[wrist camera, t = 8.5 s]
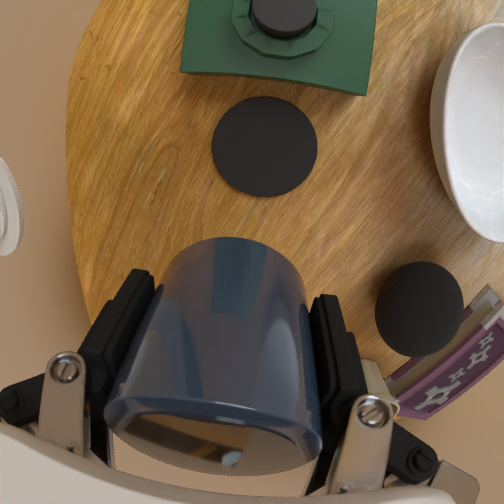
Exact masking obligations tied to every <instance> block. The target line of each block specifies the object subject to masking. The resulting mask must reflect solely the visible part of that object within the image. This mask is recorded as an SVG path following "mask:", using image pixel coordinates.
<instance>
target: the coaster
mask: <svg viewBox="0 0 504 504" xmlns="http://www.w3.org/2000/svg"><path fill="white" fill-rule="evenodd" d="M212 151H213V157H214V161H215V164H216V166H217V168H218V170H219V172H220V173H221V175H222V176H223V177H224V179H225V180H226V181H227V182H228V183H229V184H231V185H232V186H233V187H235V188H236V189H238V190H240V191H242V192H244V193H246V194H250V195H253V196H259V197H272V196H278V195H281V194H284V193H287V192H289V191H291V190H293V189H294V188H296V187H297V186H298V185H300V184H301V183H302V182H303V181H304V180H305V179H306V178H307V176H308V175H309V174H310V172H311V170H312V168H313V166H314V164H315V160H316V156H317V138H316V134H315V131H314V128H313V126H312V124H311V122H310V121H309V119H308V118H307V117H306V116H305V114H304V113H303V112H302V111H301V110H299V109H298V108H297V107H296V106H294V105H293V104H291V103H289V102H287V101H285V100H282V99H279V98H274V97H255V98H250V99H247V100H244V101H242V102H240V103H238V104H236V105H235V106H233V107H232V108H231V109H229V110H228V111H227V112H226V113H225V114H224V116H223V117H222V118H221V120H220V121H219V123H218V125H217V127H216V129H215V132H214V136H213V142H212Z"/></svg>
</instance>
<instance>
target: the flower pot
mask: <svg viewBox="0 0 504 504" xmlns="http://www.w3.org/2000/svg"><path fill="white" fill-rule="evenodd" d="M361 363H362V367H363V371H364V375H365V380H366V384H367V388H368V393H369V394H377V395H379V396H381V397H383V398H385V399H386V400H387V401H388V402H389V403H390V405H391V406H392V409H393V411H394V417H395V416H396V415H397V414H398V412H399V410H400V406H399V404H398V403H397V402H395V400H394V398H393V397H392V396H391V395H390V393H389V391H388V389H387V386H386V384H385V382H384V380H383V378H382V375H381V373H380V371H379V369H378V366H377V364H376V363H375V362H374V361H369V360H367V359H361Z"/></svg>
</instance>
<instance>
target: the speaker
mask: <svg viewBox="0 0 504 504" xmlns="http://www.w3.org/2000/svg"><path fill="white" fill-rule="evenodd" d="M463 311H464V303H463V296H462V292H461V289H460V287H459V285H458V283H457V281H456V280H455V278H454V277H453V276H452V275H451V273H449V272H448V271H447V270H446V269H445V268H443V267H441V266H439V265H437V264H434V263H431V262H423V261H421V262H413V263H409V264H406V265H404V266H402V267H400V268H398V269H397V270H396V271H394V272H393V273H392V274H391V275H390V276H389V277H388V278H387V279H386V280H385V282H384V283H383V285H382V287H381V289H380V291H379V293H378V296H377V299H376V304H375V320H376V325H377V328H378V331H379V333H380V335H381V337H382V339H383V340H384V341H385V343H386V344H387V345H388V346H389V347H390V348H391V349H393V350H394V351H396V352H397V353H399V354H402V355H404V356H408V357H425V356H429V355H432V354H434V353H436V352H438V351H440V350H441V349H443V348H444V347H445V346H446V345H448V344H449V343H450V341H451V340H452V339H453V338H454V336H455V335H456V333H457V331H458V329H459V327H460V325H461V321H462V318H463Z"/></svg>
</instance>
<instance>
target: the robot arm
mask: <svg viewBox="0 0 504 504" xmlns="http://www.w3.org/2000/svg"><path fill="white" fill-rule="evenodd" d="M6 229H7V211H6V205H5V202H4V198H3V195H2V192H1V190H0V240H1V239H2V238H3V237H4V235H5V233H6ZM154 292H155V286H154V277H153V276H152V275H150V274H149V271H147V270H140V269H132V271H131V272H130V274H129V275H128V277H127V278H126V280H125V281H124V283H123V285H122V286H121V288H120V289H119V291H118V292H117V294H116V296H115V297H114V299H113V300H108V301H107V303H106V304H105V306H104V307H103V309H102V310H101V312H100V314H99V315H98V317H97V319H96V320H95V322H94V324H93V325H92V327H91V329H90V330H89V332H88V334H87V336H86V337H85V339H84V341H83V343H82V344H81V346H80V348H79V350H78V351H77V353H75V352H72V351H64V352H60V353H58V354H56V355H55V356H53V357H52V358H51V359H50V361H49V362H48V364H47V367H46V371H45V373H43V374H40V375H38V376H35V377H32V378H30V379H27V380H24V381H21V382H19V383H16V384H13V385H10V386H8V387H6V388H4V389H3V390H2V391H1V392H0V504H475V502H476V499H477V497H478V494H479V490H480V489H479V483H478V481H477V479H476V478H475V477H473V476H472V475H469V474H468V473H466V472H464V471H462V470H461V469H459V468H457V467H455V466H453V465H452V464H450V463H448V462H446V461H445V460H441V461H439V460H438V458H437V454H436V453H435V451H434V450H433V449H432V448H431V447H430V446H429V445H427V444H426V443H424V442H423V441H421V440H420V439H418V438H417V437H415V436H414V435H413V434H411V433H410V432H408V431H406V430H405V429H404V428H403V427H401V426H400V425H398V424H397V423H395V422H394V411H393V409H392V406H391V405H390V403H389V402H388V401H387V400H386V399H385V398H383V397H381V396H379V395H377V394H369V393H368V388H367V384H366V380H365V375H364V371H363V367H362V363H361V359H360V355H359V351H358V347H357V344H356V340H355V337H354V334H353V333H352V332H346V328H345V324H344V320H343V316H342V312H341V309H340V305H339V301H338V298H337V296H336V295H328V294H321V295H320V297H319V298H318V297H315V298H314V301H313V304H312V307H311V310H310V313H309V317H310V324H311V332H312V339H313V347H314V354H315V363H316V371H317V380H318V389H319V398H320V408H321V418H322V429H323V441H324V446H323V449H322V451H321V453H320V454H319V455H318V456H317V457H316V458H315V459H314V462H313V465H312V468H311V470H310V473H309V476H308V478H307V481H306V483H305V486H304V489H303V491H302V493H301V496H300V497H263V496H246V495H234V494H224V493H216V492H208V491H201V490H196V489H190V488H185V487H179V486H175V485H170V484H165V483H161V482H157V481H153V480H149V479H145V478H142V477H138V476H135V475H131V474H128V473H125V472H121V471H119V470H116V468H115V458H114V446H113V432H112V431H111V429H110V428H109V427H108V426H107V424H106V422H105V421H104V417H103V408H104V405H105V403H106V400H107V398H108V395H109V393H110V390H111V388H112V385H113V383H114V380H115V378H116V376H117V373H118V371H119V368H120V366H121V364H122V361H123V359H124V357H125V355H126V352H127V350H128V348H129V345H130V343H131V341H132V339H133V337H134V334H135V332H136V330H137V328H138V326H139V324H140V321H141V319H142V317H143V315H144V313H145V311H146V309H147V307H148V305H149V302H150V300H151V298H152V296H153V294H154Z"/></svg>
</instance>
